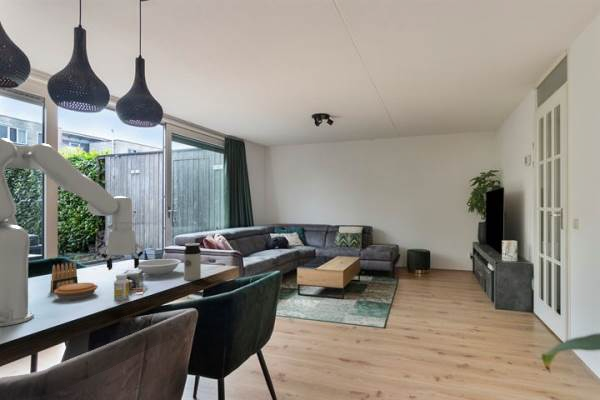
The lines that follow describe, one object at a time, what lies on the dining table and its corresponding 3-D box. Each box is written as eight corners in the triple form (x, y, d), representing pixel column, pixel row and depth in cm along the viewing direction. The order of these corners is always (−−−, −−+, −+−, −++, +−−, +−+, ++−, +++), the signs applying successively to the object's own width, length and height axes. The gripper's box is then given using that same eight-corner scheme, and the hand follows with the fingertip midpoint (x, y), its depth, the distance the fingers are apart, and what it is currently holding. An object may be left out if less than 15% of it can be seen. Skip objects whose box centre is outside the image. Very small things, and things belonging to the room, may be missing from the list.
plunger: (142, 291, 147) (142, 281, 148) (121, 292, 145) (121, 282, 145) (146, 285, 157) (146, 276, 157) (127, 287, 155) (127, 277, 155)
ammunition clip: (52, 292, 149) (52, 265, 149) (50, 292, 150) (50, 264, 150) (77, 287, 159) (78, 261, 159) (75, 286, 159) (75, 261, 160)
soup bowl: (155, 269, 202) (155, 258, 203) (190, 271, 195) (190, 259, 195) (123, 277, 180) (123, 264, 180) (161, 280, 172) (161, 267, 172)
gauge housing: (142, 294, 145) (142, 278, 145) (114, 296, 142) (114, 279, 142) (150, 283, 165) (150, 269, 165) (127, 284, 162) (127, 270, 163)
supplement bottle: (125, 295, 143) (125, 272, 143) (131, 298, 139) (131, 274, 140) (111, 298, 139) (111, 274, 139) (117, 301, 135) (117, 276, 135)
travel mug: (193, 276, 180) (193, 242, 180) (203, 278, 176) (203, 243, 176) (181, 279, 174) (181, 244, 174) (191, 281, 169) (191, 245, 169)
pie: (60, 304, 131) (60, 291, 131) (49, 297, 141) (49, 285, 141) (103, 296, 143) (103, 284, 143) (90, 290, 153) (90, 279, 153)
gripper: (95, 228, 134) (96, 272, 134) (143, 226, 138) (144, 268, 138) (101, 227, 141) (102, 268, 141) (146, 225, 145) (147, 265, 145)
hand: (123, 268), depth 140 cm, fingers open, 9 cm apart
